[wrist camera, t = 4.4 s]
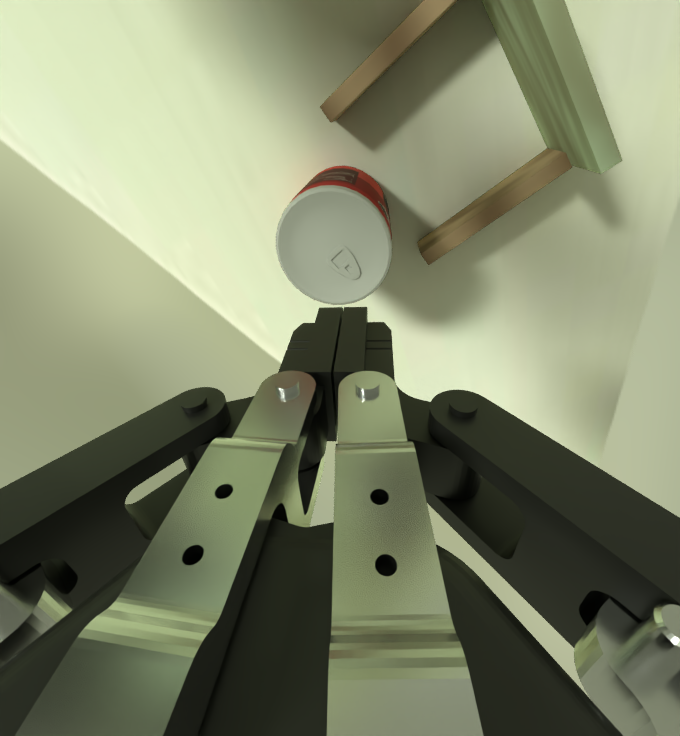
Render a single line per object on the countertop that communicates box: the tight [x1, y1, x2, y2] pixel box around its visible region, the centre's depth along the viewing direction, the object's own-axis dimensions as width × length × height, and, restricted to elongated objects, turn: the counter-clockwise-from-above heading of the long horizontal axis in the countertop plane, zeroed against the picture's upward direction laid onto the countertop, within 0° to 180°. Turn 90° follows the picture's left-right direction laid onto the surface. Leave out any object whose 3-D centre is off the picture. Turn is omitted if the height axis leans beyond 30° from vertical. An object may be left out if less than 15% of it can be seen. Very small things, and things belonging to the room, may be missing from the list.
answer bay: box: [320, 0, 622, 265], centre depth 26 cm, size 13×14×8 cm
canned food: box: [276, 166, 392, 305], centre depth 29 cm, size 8×8×11 cm
